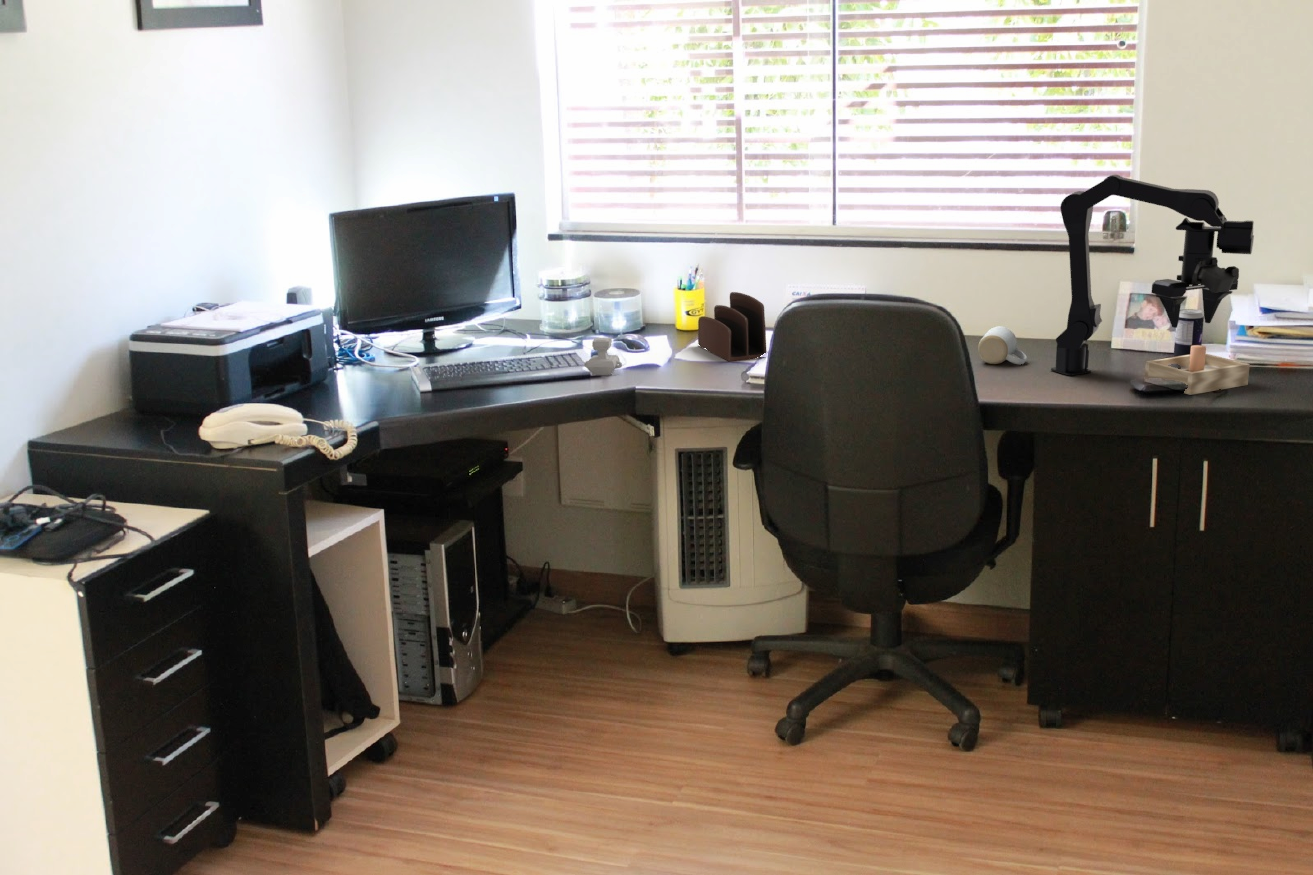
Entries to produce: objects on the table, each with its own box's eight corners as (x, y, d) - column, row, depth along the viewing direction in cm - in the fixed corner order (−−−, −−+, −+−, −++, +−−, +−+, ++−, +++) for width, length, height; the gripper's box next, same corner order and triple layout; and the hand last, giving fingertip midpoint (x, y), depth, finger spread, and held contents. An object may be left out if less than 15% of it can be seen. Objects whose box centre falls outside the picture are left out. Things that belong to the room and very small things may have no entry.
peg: (1195, 385, 279) (1198, 348, 277) (1184, 382, 282) (1187, 346, 280) (1206, 383, 280) (1209, 347, 278) (1195, 381, 283) (1198, 344, 281)
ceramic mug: (975, 364, 304) (977, 331, 302) (983, 356, 311) (985, 324, 309) (1021, 368, 300) (1024, 335, 298) (1029, 360, 307) (1031, 328, 304)
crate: (1190, 394, 272) (1192, 373, 271) (1144, 381, 284) (1145, 361, 283) (1247, 384, 279) (1249, 364, 277) (1200, 372, 290) (1202, 352, 289)
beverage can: (1202, 366, 295) (1206, 313, 292) (1175, 365, 296) (1179, 313, 293) (1197, 360, 301) (1201, 308, 297) (1171, 360, 302) (1175, 308, 298)
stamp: (625, 370, 310) (623, 335, 307) (619, 377, 303) (618, 341, 301) (587, 370, 311) (585, 335, 309) (581, 377, 305) (579, 341, 302)
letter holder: (733, 342, 336) (732, 288, 332) (767, 358, 318) (766, 300, 314) (697, 347, 332) (696, 291, 328) (729, 362, 314) (728, 304, 311)
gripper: (1193, 260, 265) (1186, 337, 269) (1262, 253, 272) (1254, 327, 276) (1152, 253, 275) (1146, 327, 279) (1220, 246, 282) (1213, 318, 286)
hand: (1191, 325), depth 280 cm, fingers open, 9 cm apart
